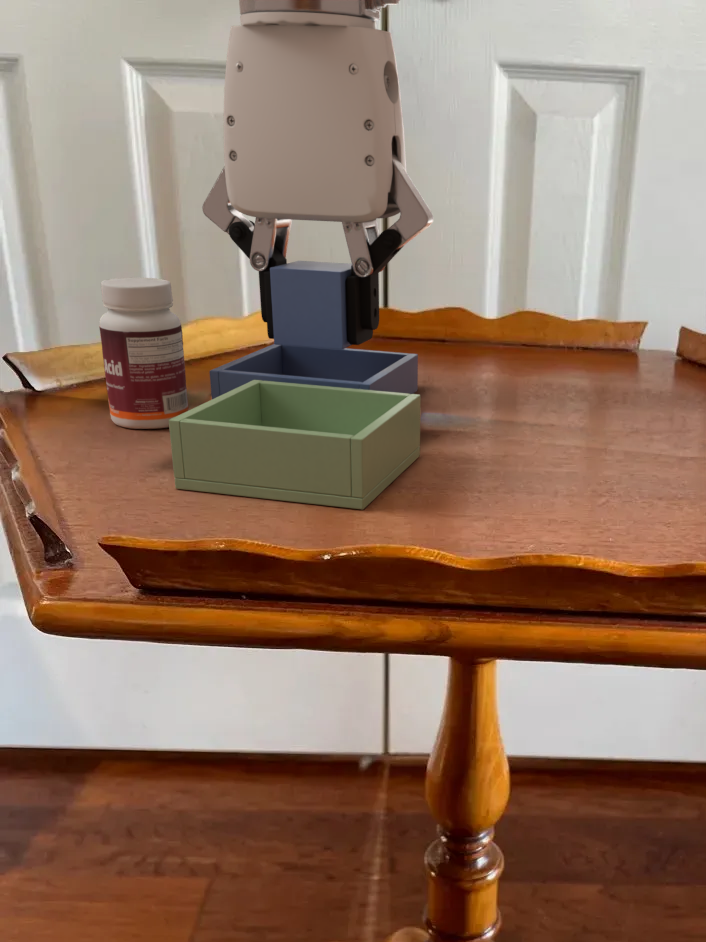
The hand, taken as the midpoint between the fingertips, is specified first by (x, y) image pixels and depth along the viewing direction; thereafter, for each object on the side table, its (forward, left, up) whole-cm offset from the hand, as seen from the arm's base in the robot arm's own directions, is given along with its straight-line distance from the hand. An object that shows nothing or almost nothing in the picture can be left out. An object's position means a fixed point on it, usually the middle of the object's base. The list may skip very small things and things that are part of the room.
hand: (321, 335), depth 65 cm
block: (0, 0, 0) cm, 0 cm away
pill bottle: (-10, -5, -5) cm, 12 cm away
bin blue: (0, 0, -5) cm, 5 cm away
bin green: (+3, -12, -5) cm, 13 cm away
